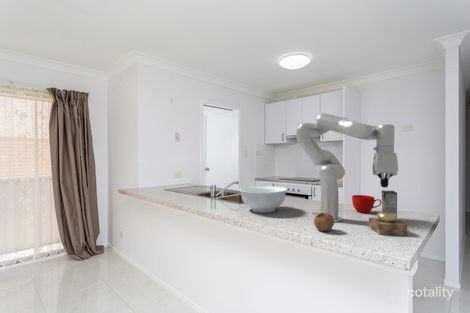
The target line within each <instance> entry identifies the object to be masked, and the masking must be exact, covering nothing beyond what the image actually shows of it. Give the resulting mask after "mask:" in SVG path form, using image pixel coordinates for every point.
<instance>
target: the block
mask: <svg viewBox="0 0 470 313" xmlns="http://www.w3.org/2000/svg"><path fill="white" fill-rule="evenodd" d="M368 229H370V230H372V231H373V232H375V233H376V234H377V235H381V236H405V237H407V236H408V224H407V223H405V222H402V221H400V220H399V219H398V218H397V219H396V223H385V222H380V221H378V217H368Z"/></svg>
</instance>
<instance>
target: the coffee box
mask: <svg viewBox="0 0 470 313" xmlns="http://www.w3.org/2000/svg"><path fill="white" fill-rule="evenodd" d="M381 202H382V203H381V212H389V213H394V214H396V219H397V220H398V192H396V191H394V190H384V189H383V190H381Z"/></svg>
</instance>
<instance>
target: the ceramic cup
mask: <svg viewBox="0 0 470 313" xmlns="http://www.w3.org/2000/svg"><path fill="white" fill-rule="evenodd" d="M378 201H379V202H380V203H378V204H377V205H375V202H378ZM351 202H352V206H353V207H354V209H355V211H357V213H360V214H369V213H370V212H371V211H372V210H373V209H375V208H378V207H380V206H382V199H379V198H378V199H377V198H376V199H375V197H374V196H371V195H363V194H353V195H352V196H351Z"/></svg>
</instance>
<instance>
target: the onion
mask: <svg viewBox="0 0 470 313" xmlns="http://www.w3.org/2000/svg"><path fill="white" fill-rule="evenodd" d="M313 218H314V219H313V225H314V226H315V229H317V230H318V231H321V232H327V231H330V230H331V229H332V228H333V227H334V225H335V222H334V219H333V217H332V215H330V214H329V213H319V214H318V215H316V216H315V215H314V217H313Z"/></svg>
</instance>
